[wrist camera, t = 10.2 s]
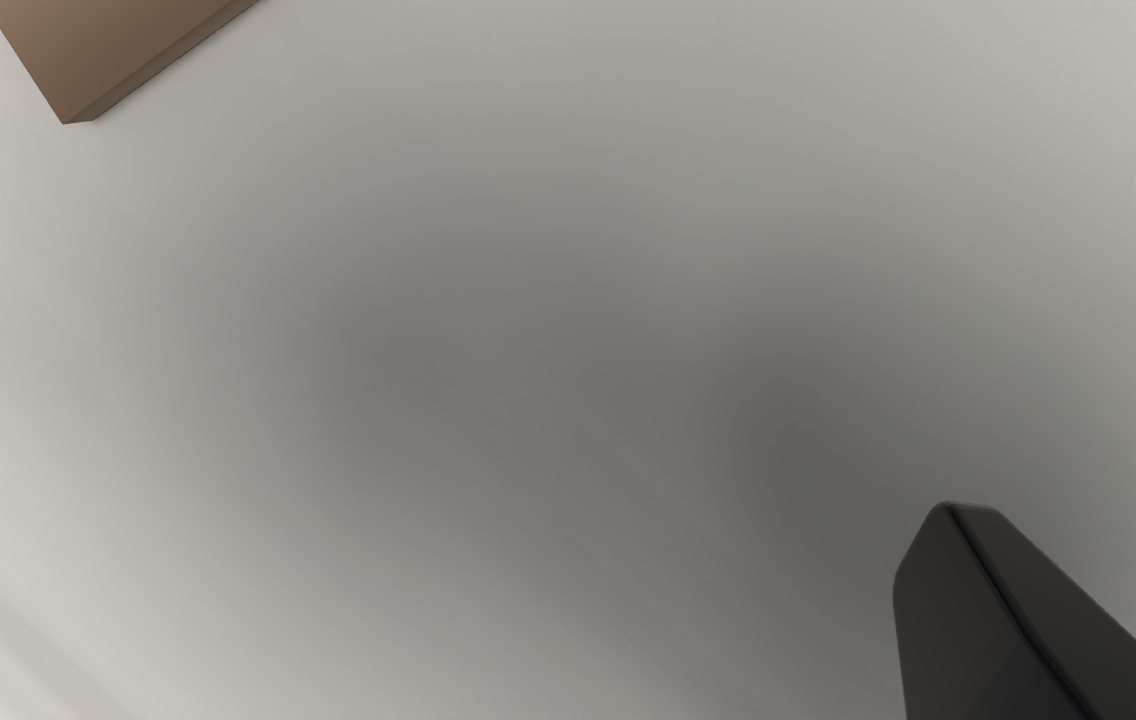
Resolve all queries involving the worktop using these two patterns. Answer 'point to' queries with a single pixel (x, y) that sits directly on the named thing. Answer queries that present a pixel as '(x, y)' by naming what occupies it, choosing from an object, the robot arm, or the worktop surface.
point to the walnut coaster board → (105, 45)
